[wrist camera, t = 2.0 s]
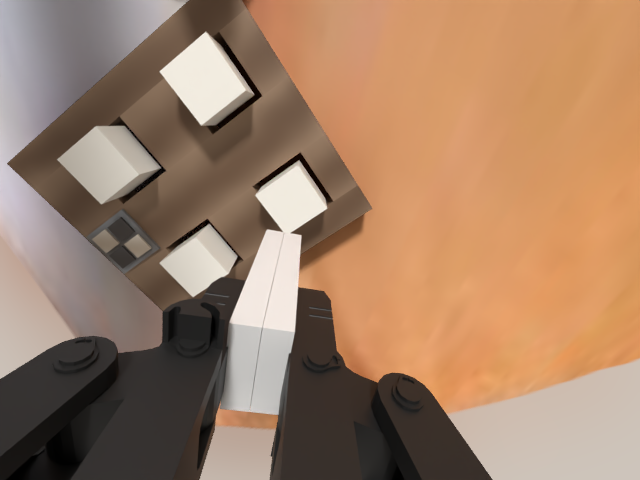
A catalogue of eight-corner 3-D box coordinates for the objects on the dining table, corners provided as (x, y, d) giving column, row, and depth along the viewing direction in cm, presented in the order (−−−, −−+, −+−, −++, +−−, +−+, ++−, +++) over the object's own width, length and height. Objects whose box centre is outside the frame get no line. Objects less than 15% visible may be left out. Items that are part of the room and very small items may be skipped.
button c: (180, 78, 23) (159, 71, 20) (220, 45, 22) (205, 31, 19) (215, 125, 24) (201, 125, 21) (254, 94, 23) (246, 90, 20)
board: (38, 159, 27) (1, 164, 23) (233, -11, 23) (220, -34, 19) (193, 312, 33) (180, 333, 30) (366, 200, 29) (373, 209, 26)
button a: (90, 154, 25) (57, 159, 21) (125, 125, 24) (95, 126, 21) (127, 194, 26) (101, 204, 23) (161, 167, 25) (139, 174, 22)
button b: (176, 246, 28) (159, 263, 24) (209, 223, 27) (195, 237, 24) (205, 277, 29) (192, 297, 26) (237, 256, 28) (228, 273, 25)
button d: (261, 186, 26) (254, 195, 23) (299, 159, 25) (297, 165, 22) (288, 222, 27) (286, 235, 24) (325, 198, 27) (327, 208, 23)
